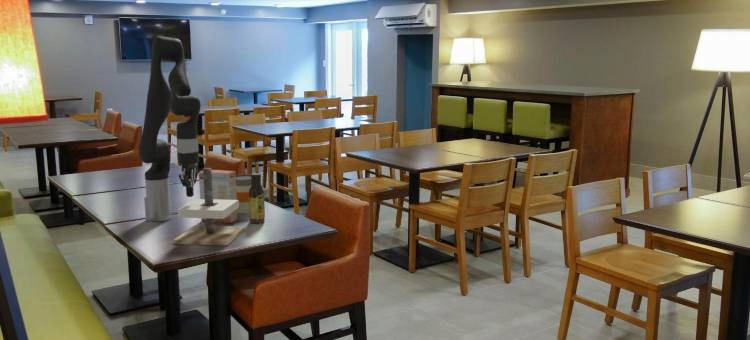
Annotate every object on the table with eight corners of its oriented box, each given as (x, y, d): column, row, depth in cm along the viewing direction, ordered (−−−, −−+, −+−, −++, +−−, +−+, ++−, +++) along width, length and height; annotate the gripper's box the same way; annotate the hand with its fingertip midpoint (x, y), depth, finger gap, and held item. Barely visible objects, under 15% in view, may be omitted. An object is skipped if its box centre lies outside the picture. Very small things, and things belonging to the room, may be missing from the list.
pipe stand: (173, 243, 227) (169, 173, 222) (195, 228, 246) (191, 163, 242) (227, 245, 224) (223, 174, 220) (244, 230, 244) (242, 164, 239)
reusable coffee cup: (256, 214, 269) (255, 179, 266) (227, 214, 269) (225, 179, 267) (262, 207, 282) (261, 174, 279) (234, 207, 282) (233, 174, 279)
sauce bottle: (261, 224, 253) (259, 175, 249) (247, 223, 254) (245, 175, 251) (267, 220, 259) (265, 172, 256) (253, 219, 260) (251, 172, 257)
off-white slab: (178, 217, 226) (177, 209, 226) (196, 206, 243) (196, 198, 242) (223, 218, 224) (223, 210, 224) (238, 207, 241) (238, 199, 241)
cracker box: (238, 220, 259) (236, 170, 255) (230, 224, 253) (228, 173, 250) (209, 217, 264) (206, 168, 260) (200, 221, 258) (198, 171, 254)
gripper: (185, 147, 237) (187, 192, 240) (170, 152, 224) (172, 200, 227) (204, 148, 236) (206, 192, 239) (190, 153, 223) (192, 200, 226)
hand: (190, 196), depth 233 cm, fingers closed
